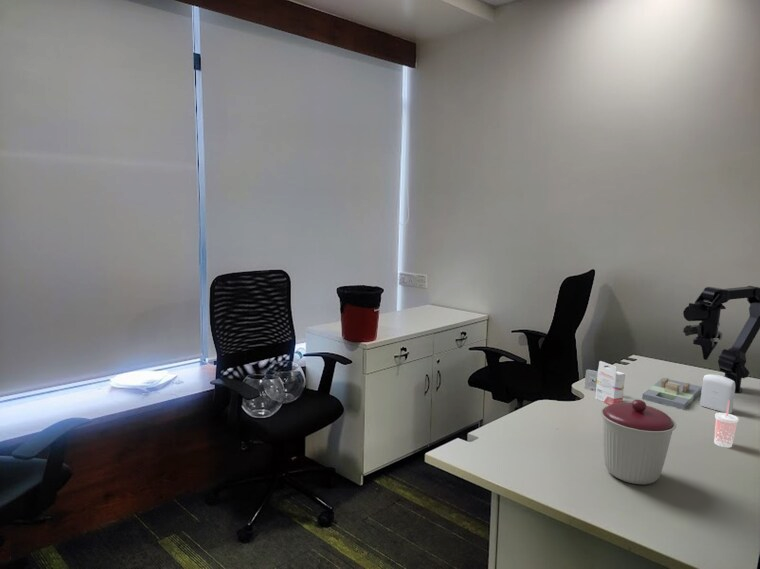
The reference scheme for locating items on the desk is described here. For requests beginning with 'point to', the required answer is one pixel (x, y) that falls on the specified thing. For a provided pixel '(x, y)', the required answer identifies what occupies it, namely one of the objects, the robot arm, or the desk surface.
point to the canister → (635, 441)
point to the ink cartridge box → (609, 384)
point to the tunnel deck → (679, 400)
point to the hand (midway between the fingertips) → (705, 359)
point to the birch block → (672, 388)
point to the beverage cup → (725, 428)
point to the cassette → (591, 380)
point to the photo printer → (717, 393)
